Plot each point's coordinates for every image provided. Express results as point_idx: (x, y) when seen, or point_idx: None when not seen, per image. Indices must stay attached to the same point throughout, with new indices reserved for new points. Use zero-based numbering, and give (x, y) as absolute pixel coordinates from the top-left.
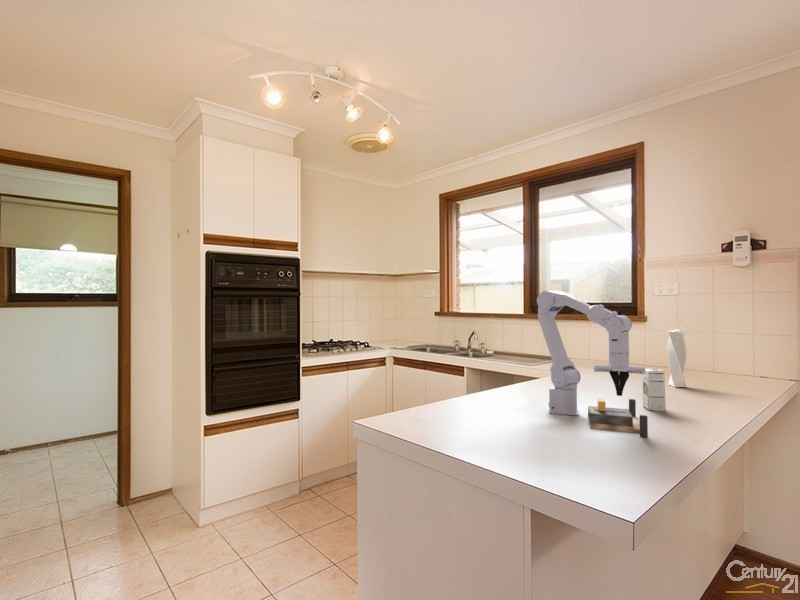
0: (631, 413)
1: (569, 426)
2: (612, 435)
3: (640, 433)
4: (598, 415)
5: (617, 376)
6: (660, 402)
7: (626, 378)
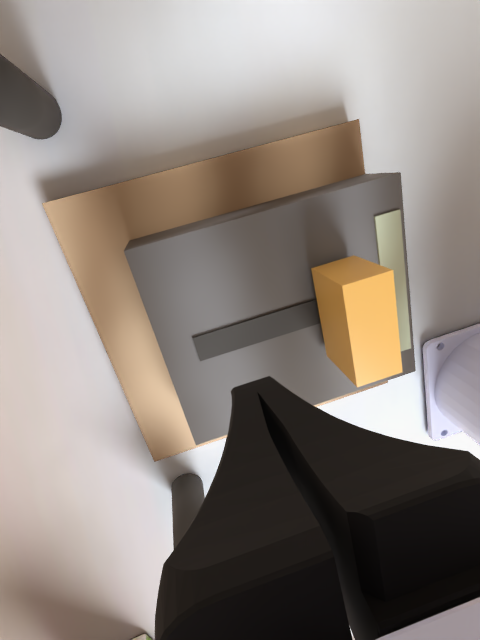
0: (190, 491)
1: (457, 90)
2: (211, 19)
3: (46, 91)
4: (341, 186)
5: (375, 492)
6: None
7: (202, 536)
